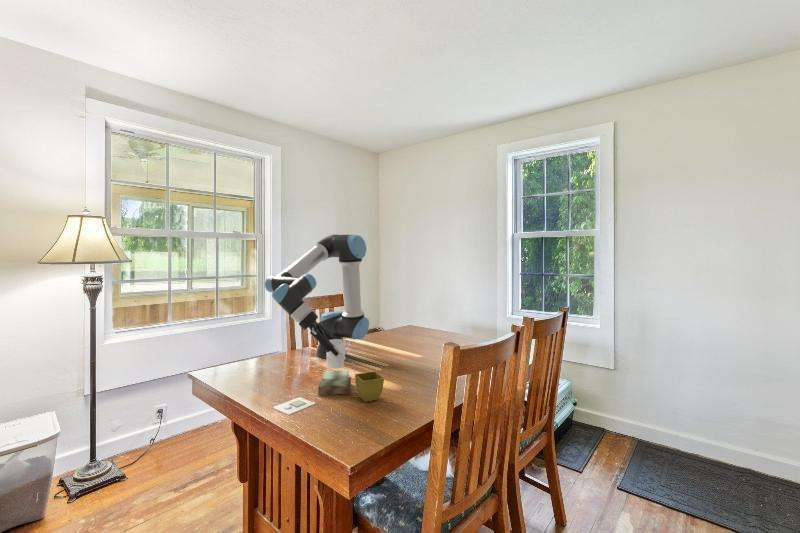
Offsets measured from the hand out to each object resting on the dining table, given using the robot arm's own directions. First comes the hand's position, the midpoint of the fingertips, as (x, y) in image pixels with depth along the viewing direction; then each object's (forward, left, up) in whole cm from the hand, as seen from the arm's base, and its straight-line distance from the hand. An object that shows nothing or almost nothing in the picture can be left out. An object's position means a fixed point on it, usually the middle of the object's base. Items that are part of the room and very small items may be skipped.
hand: (344, 357), depth 148 cm
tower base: (+3, -2, -13) cm, 14 cm away
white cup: (+3, -2, -4) cm, 5 cm away
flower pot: (-4, +14, -13) cm, 20 cm away
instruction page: (+22, +6, -13) cm, 26 cm away
